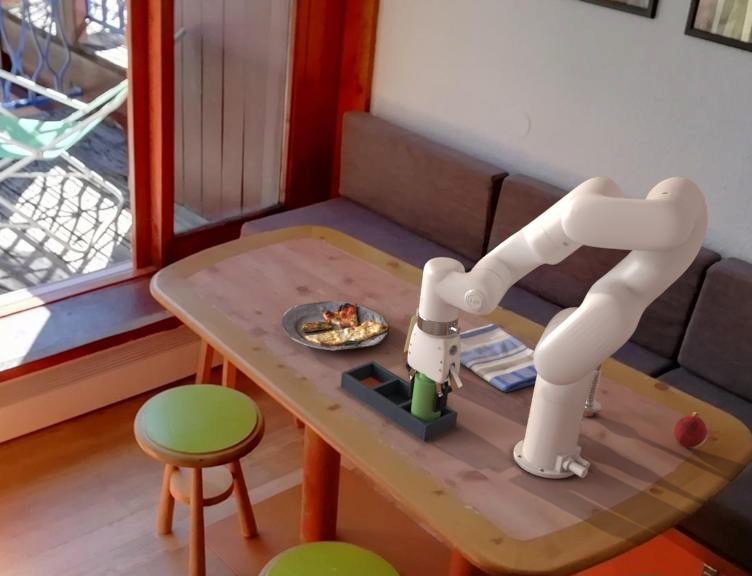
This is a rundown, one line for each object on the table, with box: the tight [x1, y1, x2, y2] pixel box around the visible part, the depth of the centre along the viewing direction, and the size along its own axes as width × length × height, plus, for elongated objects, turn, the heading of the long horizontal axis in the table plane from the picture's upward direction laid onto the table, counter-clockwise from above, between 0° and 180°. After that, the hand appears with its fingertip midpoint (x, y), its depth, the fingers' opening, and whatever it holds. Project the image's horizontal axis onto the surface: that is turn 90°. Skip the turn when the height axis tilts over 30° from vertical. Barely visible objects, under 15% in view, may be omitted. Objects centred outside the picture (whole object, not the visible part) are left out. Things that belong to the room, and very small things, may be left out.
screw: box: [583, 363, 602, 418], centre depth 213 cm, size 13×5×5 cm
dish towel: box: [459, 323, 537, 393], centre depth 234 cm, size 17×24×3 cm
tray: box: [340, 360, 459, 442], centre depth 216 cm, size 25×9×4 cm, turn 37°
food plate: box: [280, 300, 390, 352], centre depth 244 cm, size 25×23×4 cm
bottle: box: [411, 372, 445, 423], centre depth 207 cm, size 6×6×17 cm
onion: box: [673, 411, 707, 449], centre depth 205 cm, size 6×6×8 cm
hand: (427, 401), depth 209 cm, fingers closed on bottle, 5 cm apart
